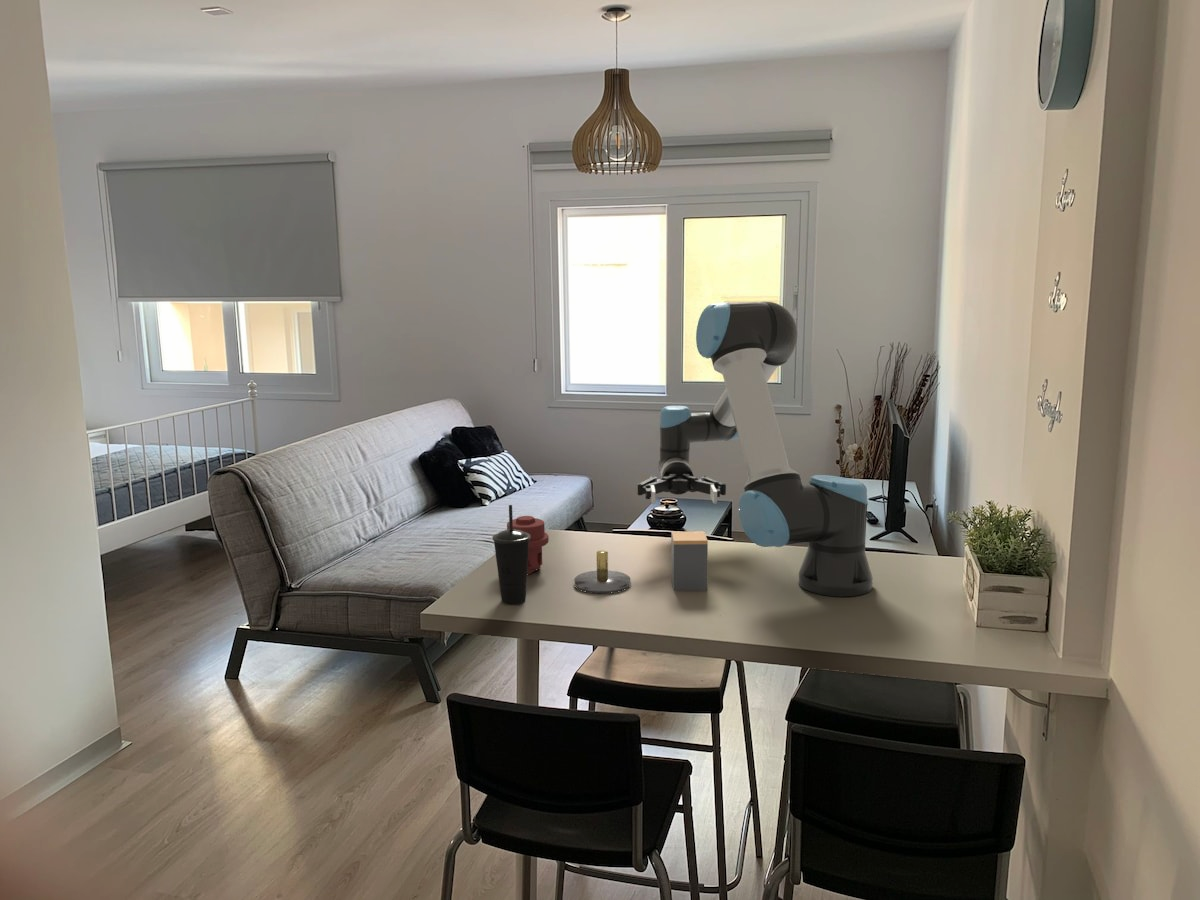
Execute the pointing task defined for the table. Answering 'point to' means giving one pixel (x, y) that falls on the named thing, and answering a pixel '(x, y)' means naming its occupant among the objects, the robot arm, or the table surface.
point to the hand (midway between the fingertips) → (684, 497)
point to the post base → (604, 585)
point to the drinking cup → (512, 562)
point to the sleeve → (689, 560)
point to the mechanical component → (532, 539)
